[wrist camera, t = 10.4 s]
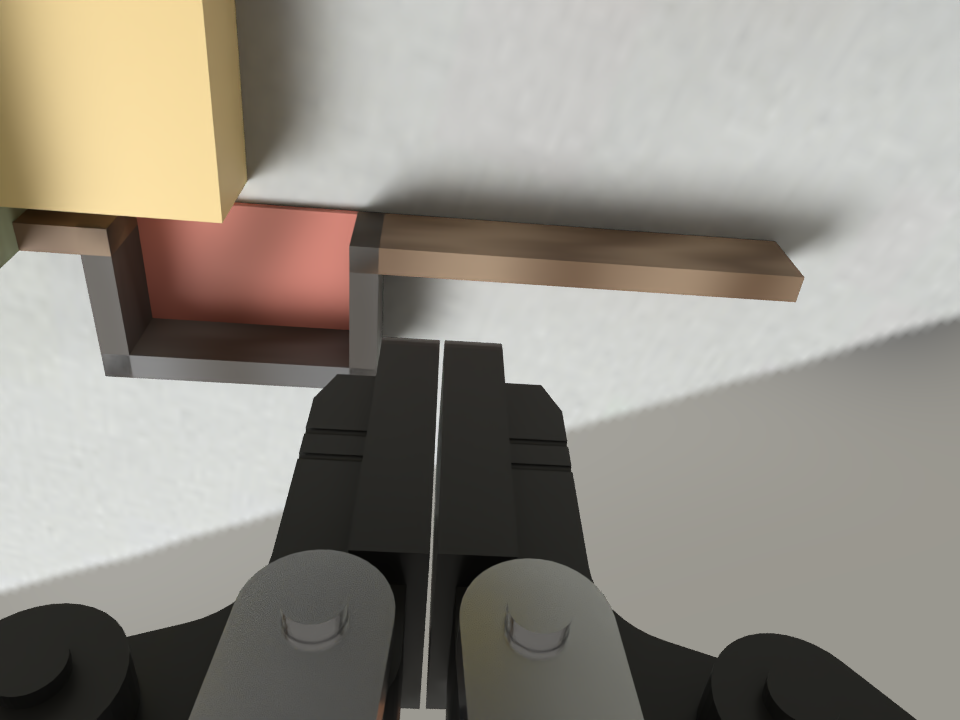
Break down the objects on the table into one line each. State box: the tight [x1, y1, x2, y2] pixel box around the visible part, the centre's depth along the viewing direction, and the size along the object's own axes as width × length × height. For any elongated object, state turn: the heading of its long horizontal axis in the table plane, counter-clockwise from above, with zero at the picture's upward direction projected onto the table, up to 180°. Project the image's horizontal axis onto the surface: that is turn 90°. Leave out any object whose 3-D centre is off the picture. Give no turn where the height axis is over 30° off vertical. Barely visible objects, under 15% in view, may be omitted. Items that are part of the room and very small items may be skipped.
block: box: [0, 0, 247, 223], centre depth 25 cm, size 7×7×4 cm
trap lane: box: [0, 202, 804, 388], centre depth 24 cm, size 28×22×7 cm
